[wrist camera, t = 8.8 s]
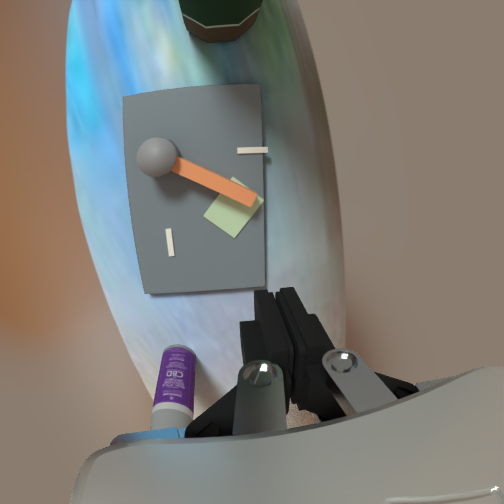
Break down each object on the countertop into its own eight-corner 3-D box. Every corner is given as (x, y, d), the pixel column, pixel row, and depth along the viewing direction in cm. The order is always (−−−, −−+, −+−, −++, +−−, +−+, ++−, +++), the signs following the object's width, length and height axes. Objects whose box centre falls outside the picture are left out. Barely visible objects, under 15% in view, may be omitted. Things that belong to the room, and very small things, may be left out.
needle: (138, 166, 25) (130, 168, 22) (153, 133, 24) (146, 131, 21) (243, 213, 28) (246, 220, 25) (260, 182, 27) (264, 185, 24)
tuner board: (126, 98, 23) (122, 96, 22) (263, 86, 25) (265, 83, 23) (146, 289, 31) (144, 294, 30) (267, 281, 33) (269, 286, 31)
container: (186, 340, 34) (177, 435, 20) (201, 363, 36) (200, 454, 22) (156, 349, 34) (138, 440, 20) (173, 371, 36) (163, 459, 22)
